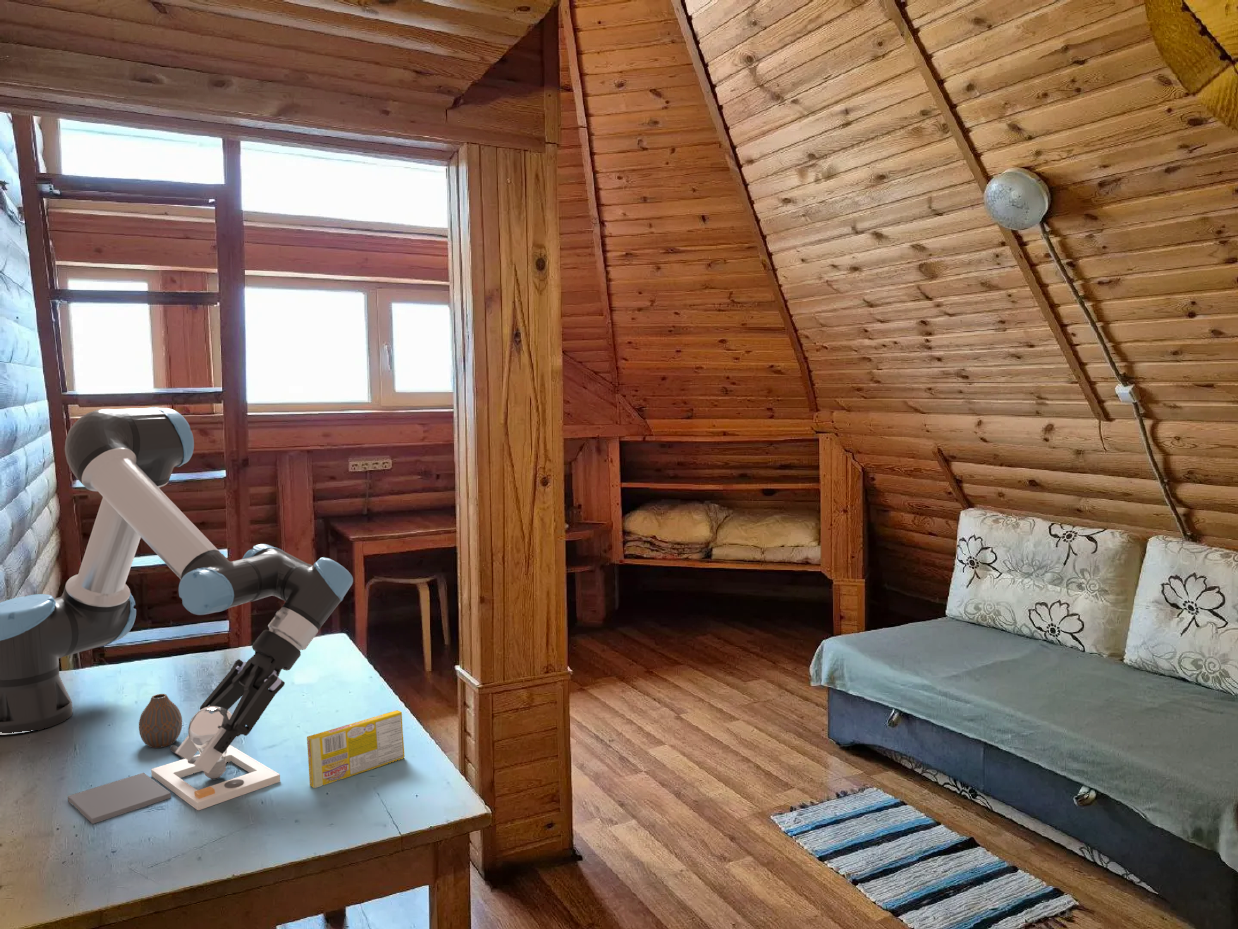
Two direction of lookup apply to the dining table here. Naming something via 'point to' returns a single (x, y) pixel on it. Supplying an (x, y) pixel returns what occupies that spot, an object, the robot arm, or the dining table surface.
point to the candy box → (355, 748)
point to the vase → (160, 722)
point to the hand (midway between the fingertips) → (191, 762)
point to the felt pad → (118, 797)
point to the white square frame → (218, 792)
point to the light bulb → (209, 734)
